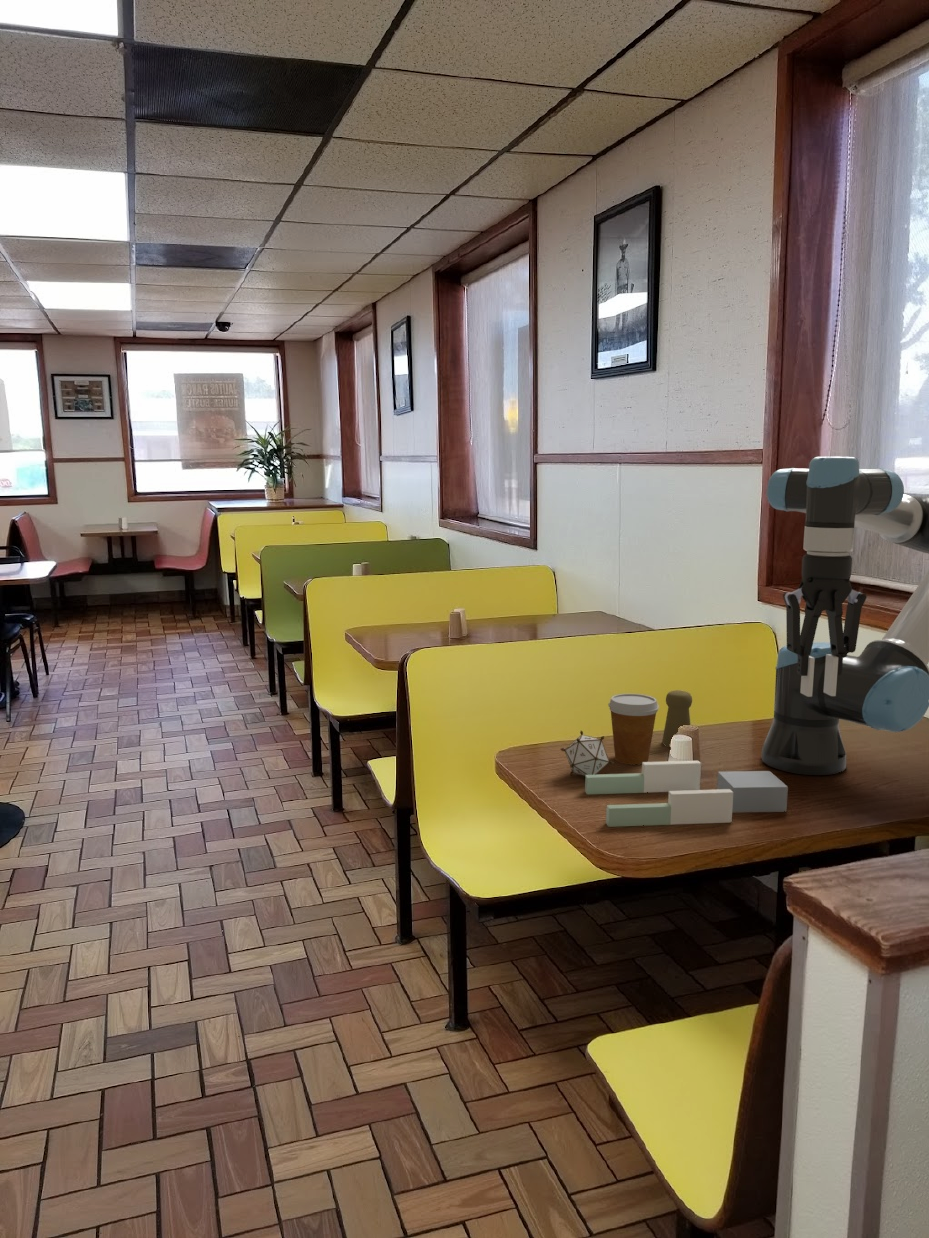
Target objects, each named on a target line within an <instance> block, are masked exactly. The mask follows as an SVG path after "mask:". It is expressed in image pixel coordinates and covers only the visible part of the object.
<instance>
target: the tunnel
mask: <svg viewBox="0 0 929 1238" xmlns="http://www.w3.org/2000/svg"><path fill="white" fill-rule="evenodd" d="M701 767H702V762H701V761H699V760H674V761H673V760H671V761H648V762H642V764H641V772H637V773H606V774H604V773H603V774H596V775H585V776H584V777H585V781H584V782H585V783H584V792H585V794H586V795H609V794H611V795H613V794H614V795H615V794H641V793H642V794H643V793H644V794H645V793H647V792H648V793H668V797H667V798H668V800H667V802H664V803H663V802H662V803H631V804H629V803H627V804H607V805H606V809H605V810H606V813H605V824H606V826H607V827H608V828H610V827H612V828H613V827H618V828H619V827H638V826H639V827H640V826H643V825H644V826H670V825H694V824H695V825H696V824H697V825H698V824H721V823H722V824H723V823H724V824H725V823H732V822H733V821H732V820H733V812H732V807H733V792H732V791H731V790H730V789H717V788H716V789H701V772H702V768H701Z"/></svg>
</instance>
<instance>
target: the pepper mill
mask: <svg viewBox="0 0 929 1238" xmlns="http://www.w3.org/2000/svg"><path fill="white" fill-rule="evenodd" d="M665 703H666V705H667V713H666V719H665V722H664V723H665V724H664V730H663V734H662V741H661V743H662V742H663V743H664V744H665V745H666V746H667V748H670V747H669V744H670V741H671V739H672V737H673V735H674V734H676V733H677V732H678V728H679V727H680V726H683V725H691V716H690V708H691V706H692V703H693V696H692V695H691V693H690V692H688V691H685V690H679V689H677V690H671V691H668V693H667V694H666V697H665ZM666 746H665V747H666Z"/></svg>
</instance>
